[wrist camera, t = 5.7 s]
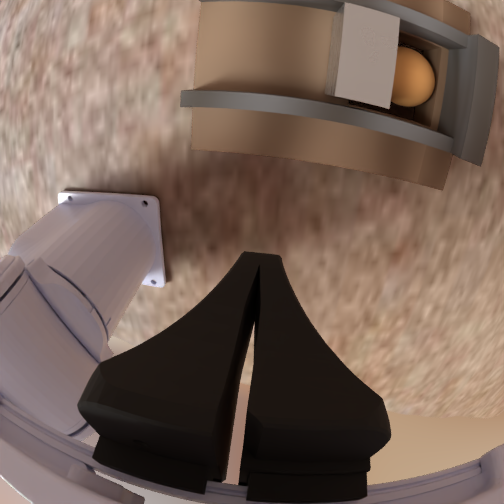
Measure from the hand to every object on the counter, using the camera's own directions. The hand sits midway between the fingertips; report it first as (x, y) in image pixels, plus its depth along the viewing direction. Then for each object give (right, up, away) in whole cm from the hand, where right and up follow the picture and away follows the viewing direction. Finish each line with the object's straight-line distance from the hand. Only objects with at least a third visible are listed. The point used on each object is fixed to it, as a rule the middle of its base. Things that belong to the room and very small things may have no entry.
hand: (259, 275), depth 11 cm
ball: (+8, +10, +1) cm, 13 cm away
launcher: (+5, +12, +3) cm, 13 cm away
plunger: (+5, +10, +1) cm, 11 cm away
